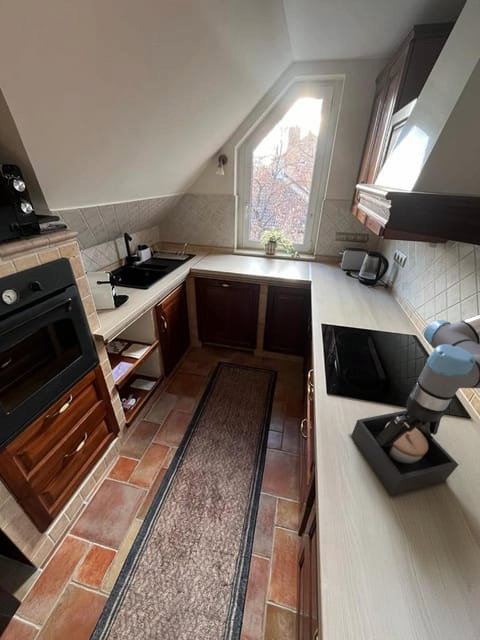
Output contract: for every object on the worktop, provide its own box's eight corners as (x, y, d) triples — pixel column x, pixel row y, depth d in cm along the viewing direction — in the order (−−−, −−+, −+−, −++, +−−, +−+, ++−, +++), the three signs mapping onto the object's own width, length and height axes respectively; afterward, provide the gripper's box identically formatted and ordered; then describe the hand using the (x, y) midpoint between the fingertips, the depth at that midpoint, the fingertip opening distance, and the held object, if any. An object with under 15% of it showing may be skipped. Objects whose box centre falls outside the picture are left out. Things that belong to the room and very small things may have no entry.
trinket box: (373, 433, 81) (383, 413, 76) (410, 440, 79) (422, 420, 74) (382, 465, 72) (393, 445, 67) (423, 475, 70) (438, 455, 65)
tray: (397, 425, 86) (406, 410, 82) (445, 480, 71) (458, 464, 67) (351, 435, 82) (357, 419, 78) (390, 495, 67) (401, 479, 63)
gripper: (450, 383, 70) (419, 433, 81) (378, 396, 65) (355, 447, 76) (478, 404, 63) (440, 455, 75) (400, 420, 59) (372, 472, 70)
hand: (397, 451), depth 75 cm, fingers closed on trinket box, 11 cm apart
